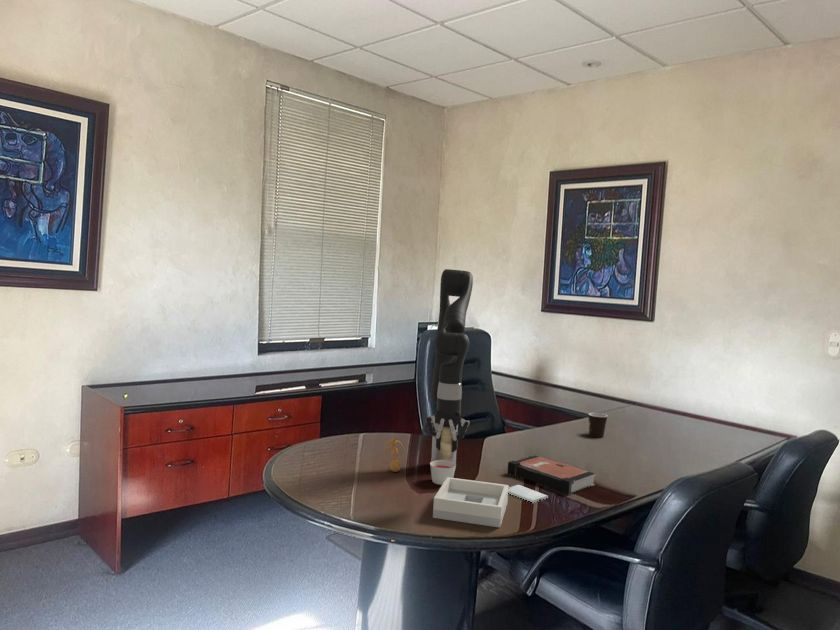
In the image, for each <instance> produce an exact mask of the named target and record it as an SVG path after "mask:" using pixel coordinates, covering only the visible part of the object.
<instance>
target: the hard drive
mask: <svg viewBox="0 0 840 630" xmlns="http://www.w3.org/2000/svg"><path fill="white" fill-rule="evenodd" d="M508 493H509V494H508V495H510V494H511V495H510V496H512V495H514V496H513V497H515V496H517V497H516V498H518V497H519V498H518V499H520V498H522V499H521V500H523V499H524V500H523V501H525V500H527V501H526V502H528V501H530V502H532V503H531V504H535V503H538V502H540V501H539V500H541V501H544V500H547V499H549V495H547V494H544V493H542V492H540V491H536V490H534V489H531V488H528V487H525V486H523V485H520V484H516V485H512V486H509V488H508ZM546 498H547V499H546ZM543 499H544V500H543ZM537 501H538V502H537ZM530 502H529V503H530ZM534 502H535V503H534Z"/></svg>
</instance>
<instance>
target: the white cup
mask: <svg viewBox="0 0 840 630" xmlns="http://www.w3.org/2000/svg"><path fill="white" fill-rule="evenodd" d="M429 466H430V473H431V480H432V482H433V483H434V484H435V485H439V486H442V485H443V483H444V482H445V480H446V479H447V477H450V478H454V475H455V473H456V472H455V471H456V469H457V468H456V467H457V463H456V464H455V463H453V462H450V461H444V460H437V461H432V462H431V461H430V462H429Z"/></svg>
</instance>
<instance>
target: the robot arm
mask: <svg viewBox="0 0 840 630" xmlns="http://www.w3.org/2000/svg"><path fill="white" fill-rule="evenodd" d="M473 283H474V276H473V274H472V272H470V271H468V270H462V269H461V270H459V269H450V268H449V269H448V268H447V269H444V270H443V271H442V273H441V276H440V285H439V286H440V291H439V312H438V313H439V314H438V321H437V330H436V338H435V341H434V349H435V353H434V354H435V359H434V366H433V374H432V378H431V379H432V380H431V387H430V399H431V402H432V403H433V404H435V405H436V412H435V413H434V414H433V415H429V416H427V417H426V422H427V426H428V430H429V434H430V436H431V438H432V439H431V440H432V441H431V458H430V459H431V460H430V463H431V462H432V461H437V460H444V461H450V462H453V463H455V464H456V465H457V450H458V444H459V440H463V438H464V437H465V435H466V433H467V431H468V428H469V425H470V420H468V419H467V420H465V418H462V414H461V412H462V395H463V389H462V381H463V378H462V377H463V375H462V374H463V367H464V363H465V359H466V357H467V354H468V351H469V349H470V348H469V347H470V345H471V343H470V338H469V336H468V335H467V334H465V333H464V332H465V329H466V320H467V319H466V317H467V311H468V308H469V304H470V302H471V301H470V300H471V295H472V292H473ZM450 297H457V298H456V300H454V301H453V302H452V303H450V302H451V301H450ZM455 358H456V359H455ZM460 423H461V424H460ZM459 424H460V425H461V427H462V428H461V431H460V433H459V431H458V428H459ZM443 427H450V429H451V433H452V436H453V441H452V452H453V455H452V459H441V458H440V441H441V431H442V428H443Z"/></svg>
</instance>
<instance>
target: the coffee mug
mask: <svg viewBox="0 0 840 630" xmlns="http://www.w3.org/2000/svg"><path fill="white" fill-rule="evenodd" d="M587 415H588V434H589V436H590V437H591V438H596V439H597V438H598V439H602V438H604V437H605V430H606V426H607V420H608V414H605V413H602V412H601V413H599V412H589V413H588V414H587Z"/></svg>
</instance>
